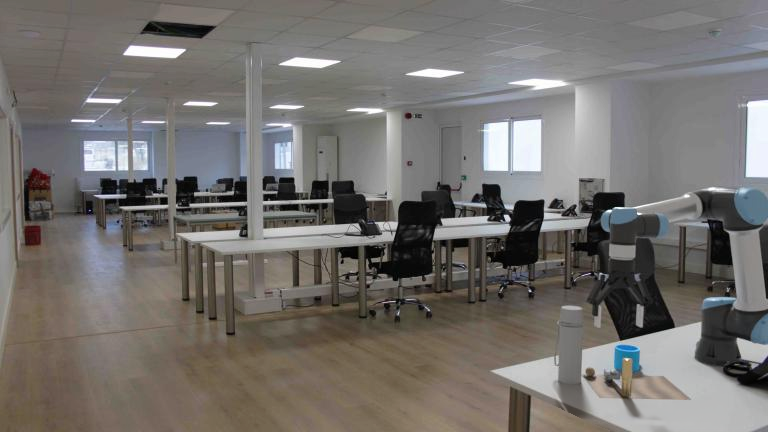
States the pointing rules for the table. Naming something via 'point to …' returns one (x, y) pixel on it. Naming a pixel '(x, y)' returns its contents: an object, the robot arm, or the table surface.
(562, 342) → the water bottle
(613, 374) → the lever
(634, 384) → the nutcracker base
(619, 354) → the mug
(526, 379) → the table surface
